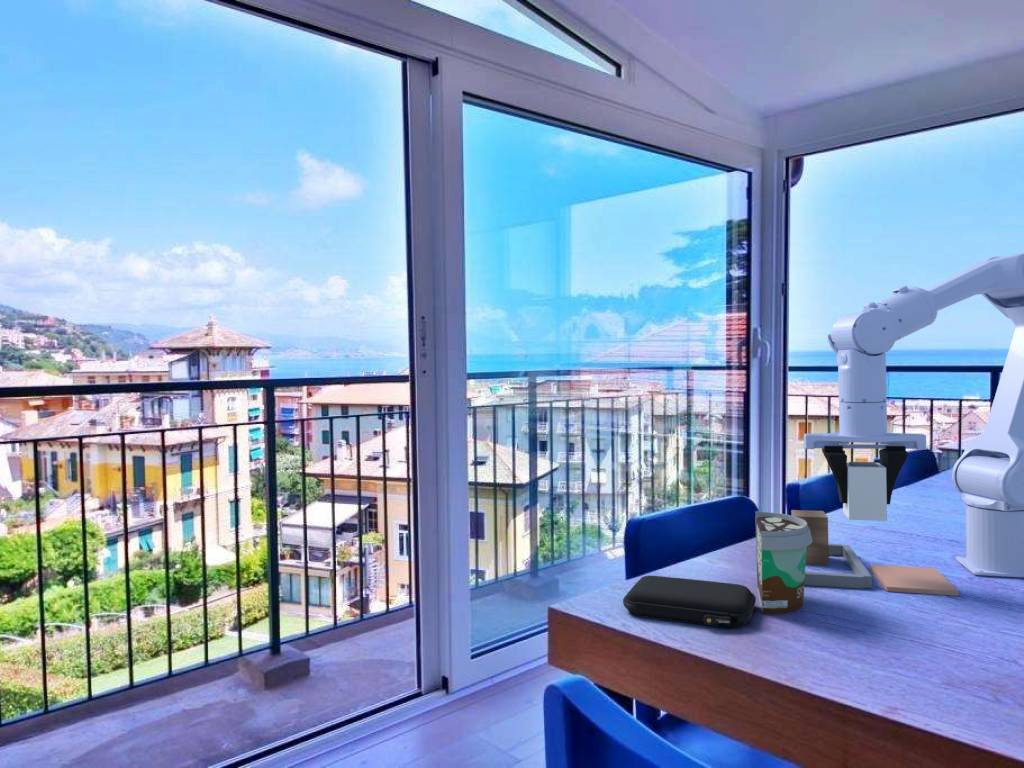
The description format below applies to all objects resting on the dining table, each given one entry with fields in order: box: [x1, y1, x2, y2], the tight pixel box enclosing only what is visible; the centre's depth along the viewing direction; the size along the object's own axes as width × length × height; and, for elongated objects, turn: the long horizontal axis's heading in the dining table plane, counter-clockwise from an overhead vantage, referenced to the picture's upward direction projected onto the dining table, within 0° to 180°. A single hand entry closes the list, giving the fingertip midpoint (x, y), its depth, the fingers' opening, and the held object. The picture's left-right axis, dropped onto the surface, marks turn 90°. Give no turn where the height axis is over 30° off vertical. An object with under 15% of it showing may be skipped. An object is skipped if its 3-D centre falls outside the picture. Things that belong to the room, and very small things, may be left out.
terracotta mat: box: [869, 564, 960, 597], centre depth 91 cm, size 8×10×1 cm
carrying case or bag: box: [622, 575, 757, 629], centre depth 82 cm, size 11×3×15 cm
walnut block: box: [791, 509, 830, 566], centre depth 102 cm, size 4×4×7 cm
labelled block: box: [842, 461, 888, 522], centre depth 92 cm, size 4×4×7 cm
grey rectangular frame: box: [804, 542, 873, 590], centre depth 98 cm, size 12×17×2 cm
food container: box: [754, 511, 813, 615], centre depth 84 cm, size 12×6×10 cm, turn 164°
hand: (864, 502), depth 92 cm, fingers closed on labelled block, 4 cm apart
